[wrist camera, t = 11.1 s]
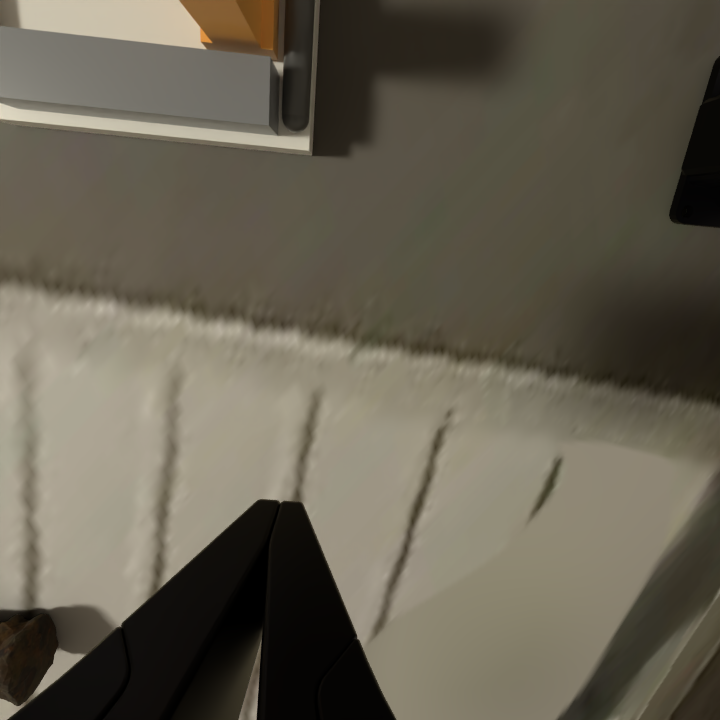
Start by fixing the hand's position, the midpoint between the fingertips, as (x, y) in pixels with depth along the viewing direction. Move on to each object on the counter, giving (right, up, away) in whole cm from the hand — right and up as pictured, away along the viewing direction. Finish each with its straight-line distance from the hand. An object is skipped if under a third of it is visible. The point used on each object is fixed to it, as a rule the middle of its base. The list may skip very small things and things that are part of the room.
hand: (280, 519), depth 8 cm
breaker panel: (-6, +16, +8) cm, 19 cm away
